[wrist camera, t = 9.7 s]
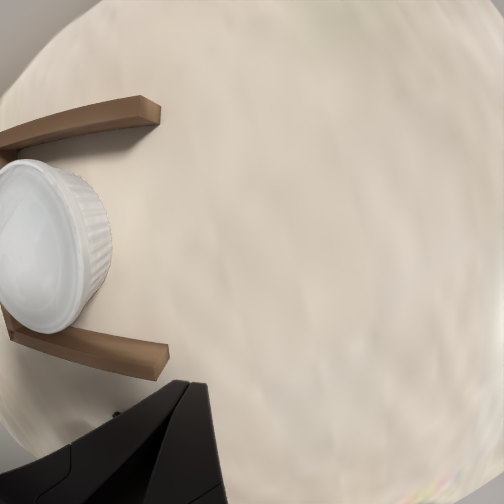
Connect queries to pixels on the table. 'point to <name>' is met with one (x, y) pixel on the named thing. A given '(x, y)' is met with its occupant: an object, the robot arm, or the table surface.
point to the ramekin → (50, 244)
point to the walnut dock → (69, 339)
